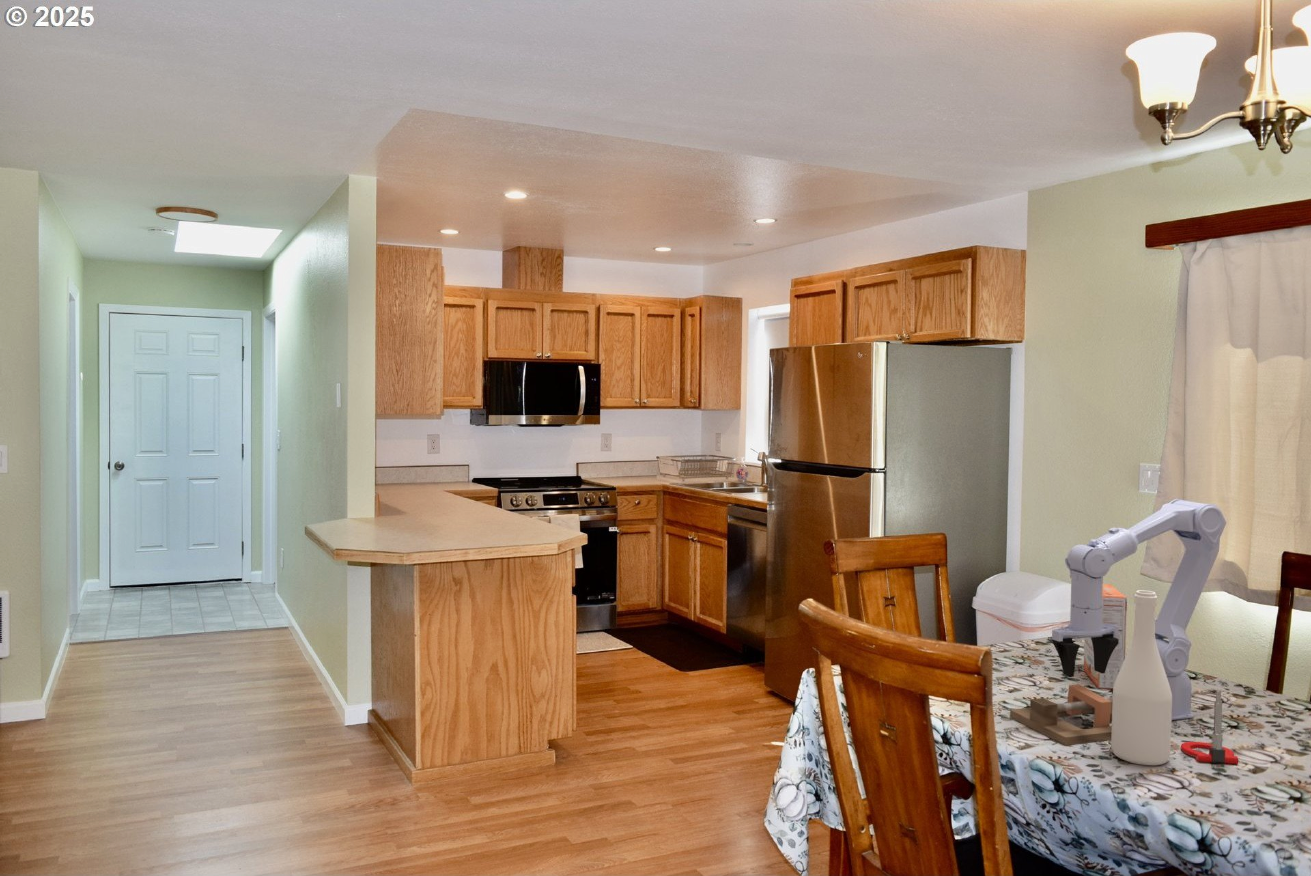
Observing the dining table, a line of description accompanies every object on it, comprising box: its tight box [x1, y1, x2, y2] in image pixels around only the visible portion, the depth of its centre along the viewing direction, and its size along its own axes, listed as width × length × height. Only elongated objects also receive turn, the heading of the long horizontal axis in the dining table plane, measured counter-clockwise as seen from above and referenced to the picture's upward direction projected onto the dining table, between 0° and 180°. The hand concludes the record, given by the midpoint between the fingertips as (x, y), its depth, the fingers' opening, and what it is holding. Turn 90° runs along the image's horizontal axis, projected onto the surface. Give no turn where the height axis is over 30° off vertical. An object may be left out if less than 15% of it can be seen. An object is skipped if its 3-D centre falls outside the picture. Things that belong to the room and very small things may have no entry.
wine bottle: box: [1110, 589, 1172, 766], centre depth 176 cm, size 10×10×30 cm
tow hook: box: [1180, 689, 1239, 765], centre depth 178 cm, size 8×13×9 cm
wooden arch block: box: [1066, 683, 1111, 728], centre depth 193 cm, size 2×9×6 cm, turn 17°
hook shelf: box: [1009, 697, 1113, 746], centre depth 193 cm, size 24×16×6 cm, turn 107°
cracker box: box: [1083, 583, 1128, 690], centre depth 222 cm, size 14×6×21 cm, turn 168°
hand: (1084, 673), depth 196 cm, fingers open, 7 cm apart
